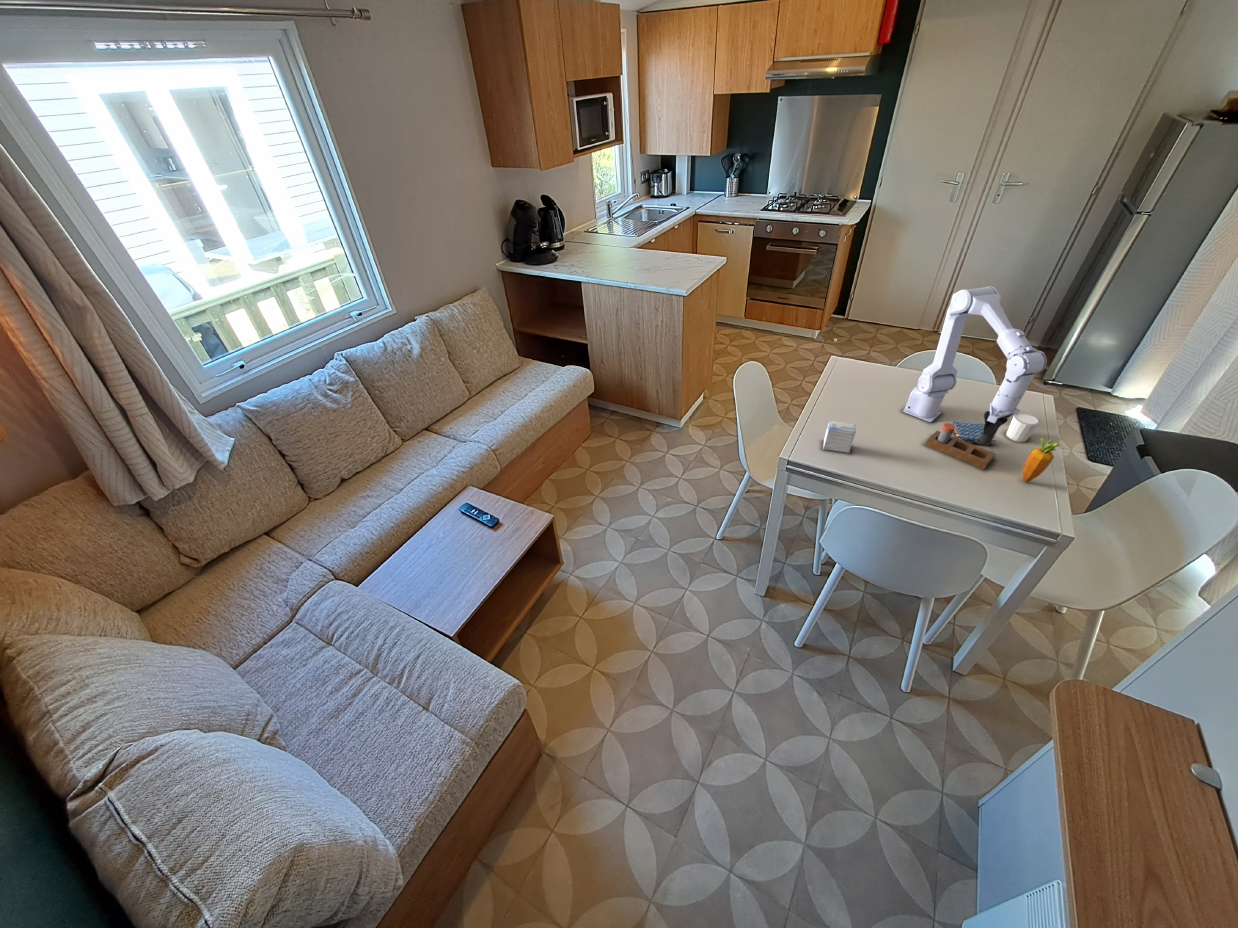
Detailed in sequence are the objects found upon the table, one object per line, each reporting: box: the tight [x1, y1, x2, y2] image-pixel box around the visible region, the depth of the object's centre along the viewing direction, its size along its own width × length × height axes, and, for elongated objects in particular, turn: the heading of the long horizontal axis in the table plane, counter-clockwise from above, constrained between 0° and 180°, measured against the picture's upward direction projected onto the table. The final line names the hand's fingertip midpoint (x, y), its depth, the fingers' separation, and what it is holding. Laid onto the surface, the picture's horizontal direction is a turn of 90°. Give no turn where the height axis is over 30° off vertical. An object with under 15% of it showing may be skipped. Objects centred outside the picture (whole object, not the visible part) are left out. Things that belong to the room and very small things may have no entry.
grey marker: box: [937, 422, 955, 444], centre depth 154 cm, size 3×3×8 cm
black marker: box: [979, 428, 999, 445], centre depth 145 cm, size 3×3×8 cm
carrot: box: [1022, 438, 1060, 483], centre depth 137 cm, size 5×5×15 cm
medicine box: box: [822, 420, 857, 454], centre depth 156 cm, size 8×4×9 cm, turn 71°
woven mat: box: [951, 420, 996, 446], centre depth 159 cm, size 10×11×2 cm
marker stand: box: [925, 430, 996, 470], centre depth 153 cm, size 17×7×2 cm, turn 41°
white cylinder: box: [1005, 412, 1041, 443], centre depth 156 cm, size 7×7×7 cm
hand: (989, 432), depth 145 cm, fingers closed on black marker, 3 cm apart
